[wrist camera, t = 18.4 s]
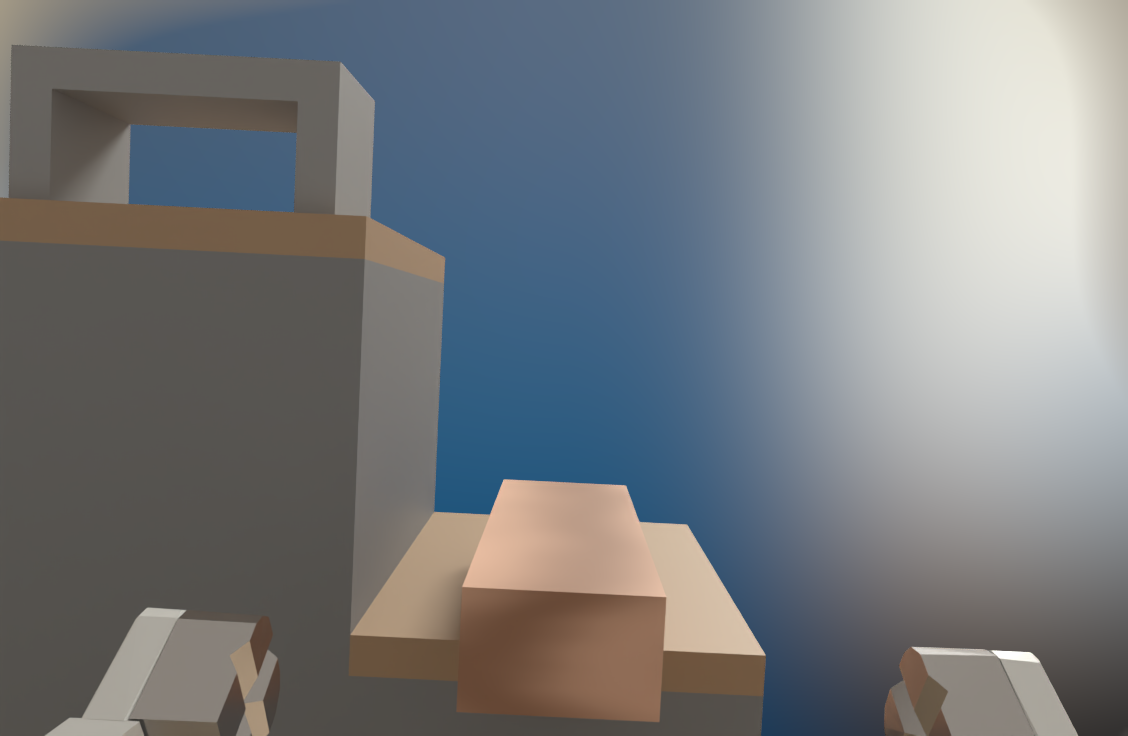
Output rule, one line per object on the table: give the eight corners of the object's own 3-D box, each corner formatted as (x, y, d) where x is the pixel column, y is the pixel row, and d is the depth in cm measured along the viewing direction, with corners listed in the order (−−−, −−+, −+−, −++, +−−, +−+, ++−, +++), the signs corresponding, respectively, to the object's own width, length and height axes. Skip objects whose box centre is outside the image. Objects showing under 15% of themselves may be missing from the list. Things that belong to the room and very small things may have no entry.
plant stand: (-76, 1245, 23) (-58, 29, 21) (169, 891, 37) (190, 145, 35) (726, 1284, 23) (802, 73, 21) (664, 916, 37) (707, 172, 35)
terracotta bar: (456, 711, 18) (461, 587, 18) (500, 554, 30) (503, 479, 30) (659, 721, 18) (666, 597, 18) (621, 560, 30) (625, 485, 30)
